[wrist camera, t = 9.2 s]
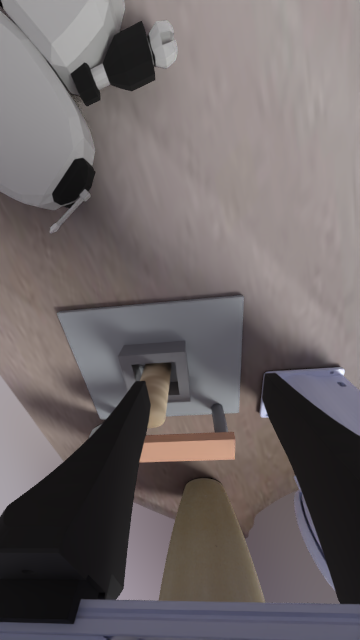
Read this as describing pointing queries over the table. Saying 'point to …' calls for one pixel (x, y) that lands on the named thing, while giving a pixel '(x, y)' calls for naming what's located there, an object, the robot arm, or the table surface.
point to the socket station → (159, 347)
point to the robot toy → (64, 90)
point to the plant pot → (208, 550)
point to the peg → (157, 390)
